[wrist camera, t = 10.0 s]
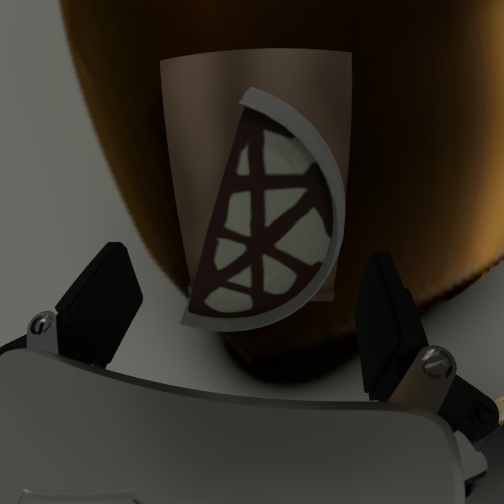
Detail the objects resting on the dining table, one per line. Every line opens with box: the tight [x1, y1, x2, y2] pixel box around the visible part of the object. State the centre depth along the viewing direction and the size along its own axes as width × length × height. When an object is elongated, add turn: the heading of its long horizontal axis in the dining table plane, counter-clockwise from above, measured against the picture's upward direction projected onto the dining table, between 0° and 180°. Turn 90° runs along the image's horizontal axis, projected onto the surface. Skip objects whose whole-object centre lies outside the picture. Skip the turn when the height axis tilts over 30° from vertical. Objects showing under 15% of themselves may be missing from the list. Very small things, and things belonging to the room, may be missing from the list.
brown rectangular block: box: [160, 48, 352, 301], centre depth 22 cm, size 13×20×6 cm, turn 2°
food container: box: [180, 87, 346, 332], centre depth 16 cm, size 12×6×10 cm, turn 162°
